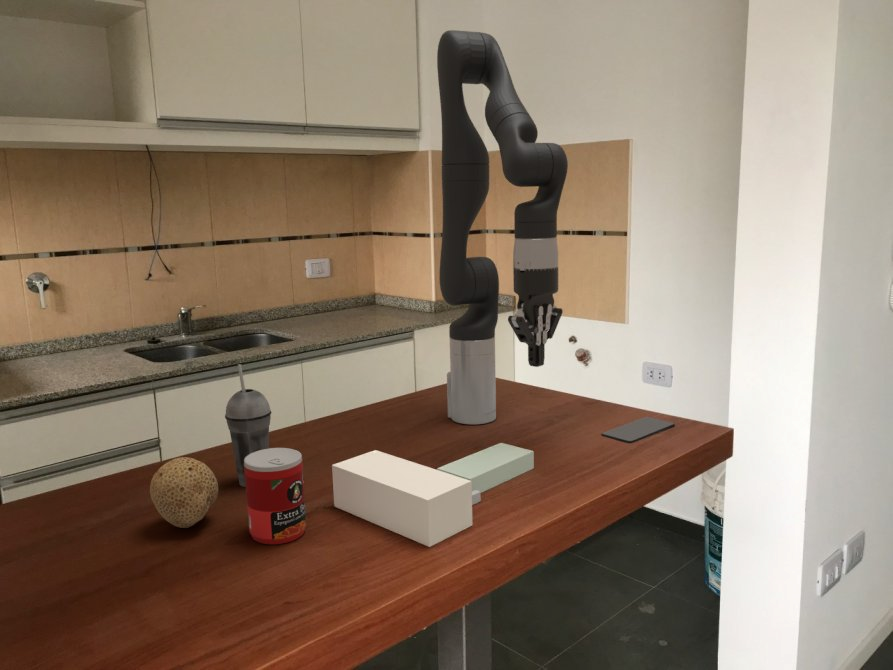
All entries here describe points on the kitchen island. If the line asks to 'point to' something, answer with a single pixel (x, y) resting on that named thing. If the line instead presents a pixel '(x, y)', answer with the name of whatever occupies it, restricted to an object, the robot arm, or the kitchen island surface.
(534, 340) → the robot arm
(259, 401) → the beverage cup
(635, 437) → the smartphone
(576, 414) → the kitchen island surface
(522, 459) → the sage green bar
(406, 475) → the cream rectangular prism
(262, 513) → the canned food
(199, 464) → the natural sponge
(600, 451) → the kitchen island surface
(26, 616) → the kitchen island surface
